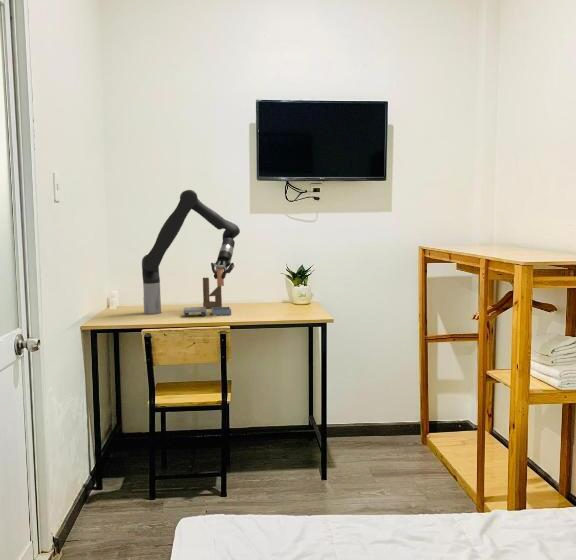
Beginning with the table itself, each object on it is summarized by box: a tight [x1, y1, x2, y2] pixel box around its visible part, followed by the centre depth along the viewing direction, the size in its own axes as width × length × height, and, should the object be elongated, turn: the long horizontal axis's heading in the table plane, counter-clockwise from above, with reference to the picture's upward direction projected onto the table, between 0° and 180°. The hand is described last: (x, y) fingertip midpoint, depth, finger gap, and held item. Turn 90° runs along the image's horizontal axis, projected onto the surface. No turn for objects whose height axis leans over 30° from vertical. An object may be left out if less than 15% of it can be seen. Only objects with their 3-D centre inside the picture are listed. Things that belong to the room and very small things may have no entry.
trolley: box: [183, 306, 207, 318], centre depth 322 cm, size 12×8×4 cm, turn 100°
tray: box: [211, 306, 232, 316], centre depth 326 cm, size 10×10×3 cm
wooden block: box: [202, 277, 223, 309], centre depth 346 cm, size 4×11×18 cm, turn 101°
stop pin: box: [215, 265, 225, 287], centre depth 324 cm, size 5×5×11 cm
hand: (219, 278), depth 322 cm, fingers closed on stop pin, 3 cm apart
